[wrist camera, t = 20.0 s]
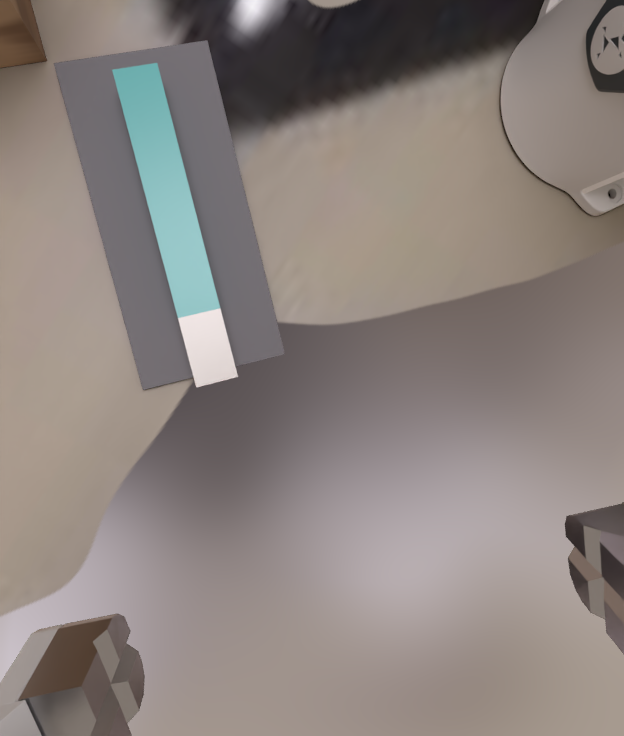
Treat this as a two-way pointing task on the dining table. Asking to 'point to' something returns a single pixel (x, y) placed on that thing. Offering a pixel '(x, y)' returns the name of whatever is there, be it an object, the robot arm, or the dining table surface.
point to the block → (175, 222)
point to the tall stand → (19, 34)
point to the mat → (132, 216)
